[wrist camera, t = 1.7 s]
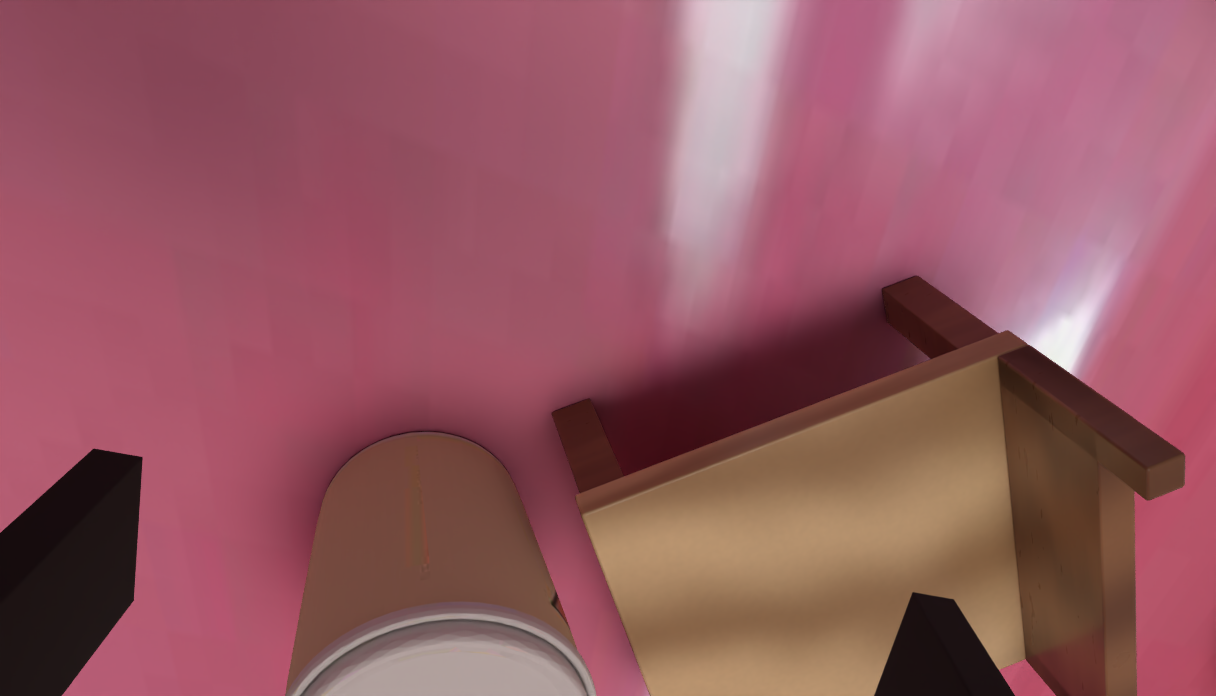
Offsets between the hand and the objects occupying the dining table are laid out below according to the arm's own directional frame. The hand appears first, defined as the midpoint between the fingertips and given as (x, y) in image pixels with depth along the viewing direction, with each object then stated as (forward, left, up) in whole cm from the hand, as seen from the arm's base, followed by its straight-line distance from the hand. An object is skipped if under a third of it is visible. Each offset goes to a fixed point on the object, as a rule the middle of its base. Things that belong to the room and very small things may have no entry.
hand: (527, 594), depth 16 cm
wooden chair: (+16, +9, -19) cm, 26 cm away
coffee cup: (+11, -5, -19) cm, 23 cm away
